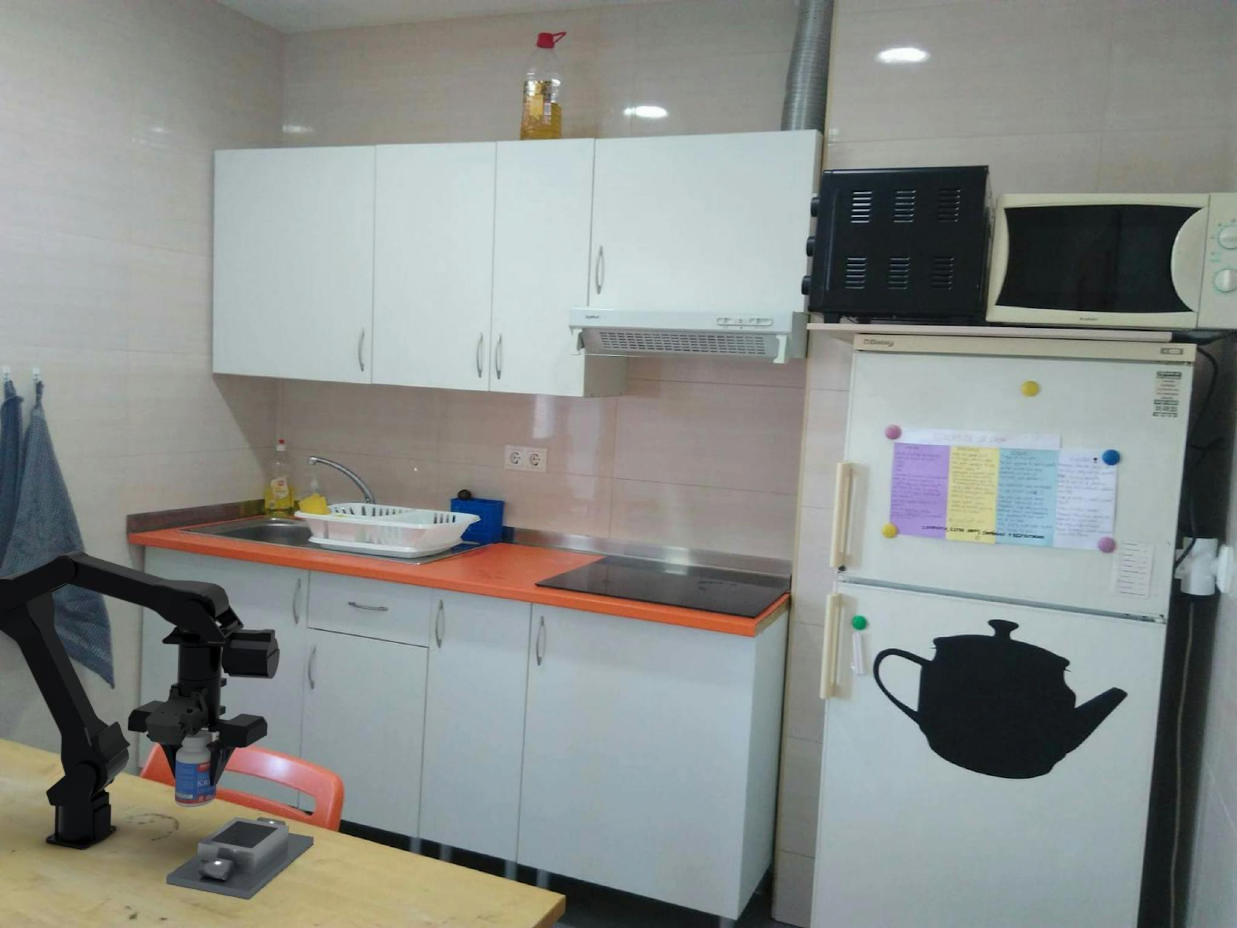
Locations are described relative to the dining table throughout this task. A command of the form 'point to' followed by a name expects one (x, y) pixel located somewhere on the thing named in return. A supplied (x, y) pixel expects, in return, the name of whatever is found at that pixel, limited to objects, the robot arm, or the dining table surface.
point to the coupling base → (241, 857)
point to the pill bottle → (194, 771)
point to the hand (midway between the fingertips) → (195, 782)
